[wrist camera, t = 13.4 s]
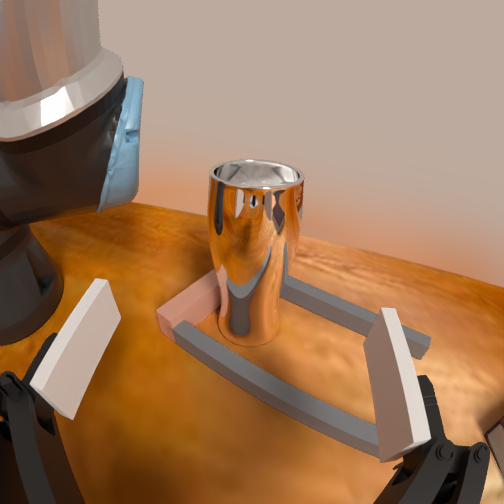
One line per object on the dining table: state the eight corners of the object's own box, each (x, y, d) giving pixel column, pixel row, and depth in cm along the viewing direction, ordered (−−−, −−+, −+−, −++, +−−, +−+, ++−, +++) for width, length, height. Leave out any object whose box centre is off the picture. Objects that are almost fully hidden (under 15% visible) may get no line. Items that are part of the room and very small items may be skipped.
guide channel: (161, 332, 25) (155, 310, 24) (242, 268, 34) (242, 248, 33) (385, 460, 15) (404, 449, 13) (422, 349, 24) (435, 330, 22)
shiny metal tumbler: (218, 355, 24) (209, 191, 15) (210, 302, 29) (203, 159, 21) (293, 344, 25) (324, 188, 17) (274, 295, 31) (289, 158, 22)
